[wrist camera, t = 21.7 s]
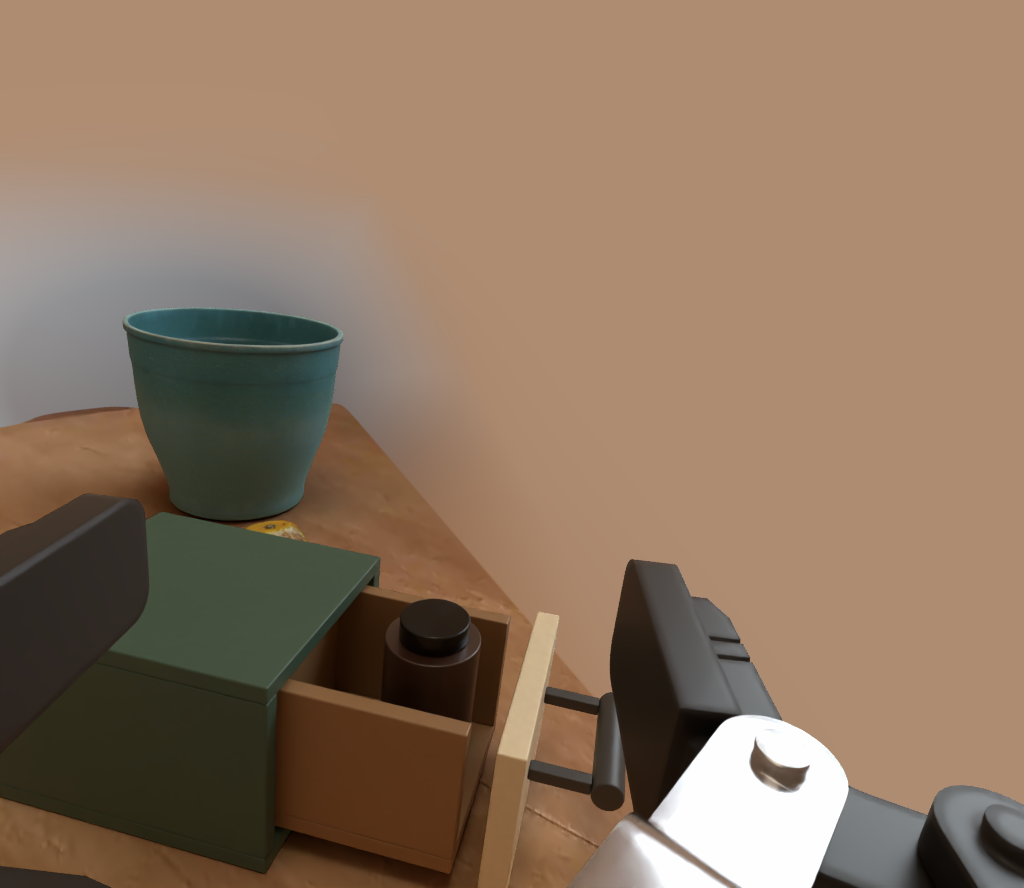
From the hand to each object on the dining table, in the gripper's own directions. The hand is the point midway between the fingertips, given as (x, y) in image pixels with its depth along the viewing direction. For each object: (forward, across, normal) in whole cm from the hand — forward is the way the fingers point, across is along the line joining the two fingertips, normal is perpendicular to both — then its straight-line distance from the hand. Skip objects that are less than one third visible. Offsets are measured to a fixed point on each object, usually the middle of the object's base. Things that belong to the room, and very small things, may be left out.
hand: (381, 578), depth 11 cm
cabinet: (+18, +12, +22) cm, 31 cm away
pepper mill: (+16, 0, +20) cm, 25 cm away
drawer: (+16, -1, +21) cm, 26 cm away
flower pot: (+48, +23, +22) cm, 58 cm away
